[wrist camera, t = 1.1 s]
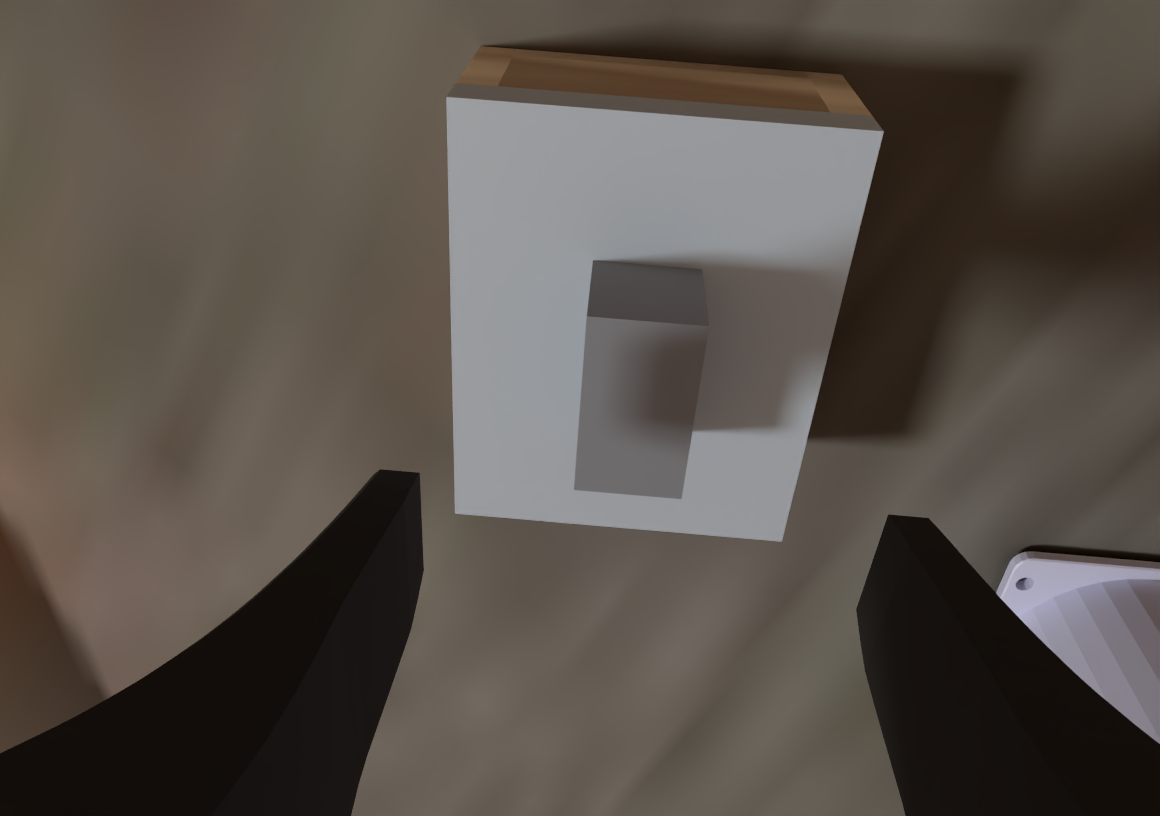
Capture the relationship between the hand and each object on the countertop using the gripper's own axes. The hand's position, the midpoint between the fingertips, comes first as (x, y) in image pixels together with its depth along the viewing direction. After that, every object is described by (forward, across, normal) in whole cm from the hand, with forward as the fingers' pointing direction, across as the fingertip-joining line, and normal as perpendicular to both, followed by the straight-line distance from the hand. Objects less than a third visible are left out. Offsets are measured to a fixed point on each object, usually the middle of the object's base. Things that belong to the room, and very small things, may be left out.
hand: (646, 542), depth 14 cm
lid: (+7, 0, 0) cm, 7 cm away
